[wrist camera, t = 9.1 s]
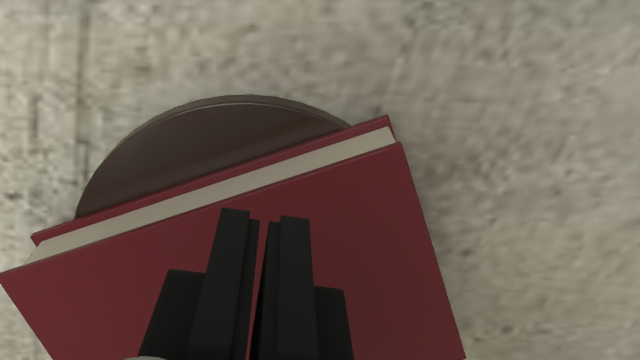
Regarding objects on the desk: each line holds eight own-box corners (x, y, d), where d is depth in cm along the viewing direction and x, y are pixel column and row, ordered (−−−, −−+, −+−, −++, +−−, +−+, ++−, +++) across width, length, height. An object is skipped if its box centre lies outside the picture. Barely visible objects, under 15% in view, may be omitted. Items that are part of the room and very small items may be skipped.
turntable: (479, 286, 25) (486, 300, 24) (226, 432, 28) (224, 449, 27) (287, 16, 20) (287, 20, 19) (3, 226, 23) (-10, 239, 22)
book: (139, 400, 25) (120, 458, 23) (32, 232, 22) (-5, 277, 19) (446, 309, 24) (466, 359, 21) (387, 114, 21) (401, 143, 18)
